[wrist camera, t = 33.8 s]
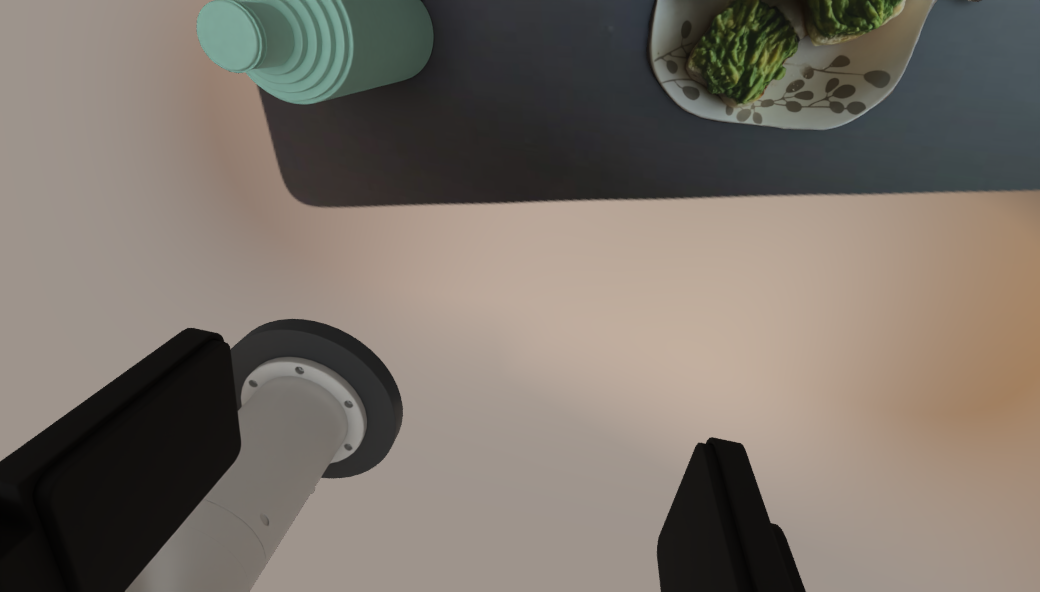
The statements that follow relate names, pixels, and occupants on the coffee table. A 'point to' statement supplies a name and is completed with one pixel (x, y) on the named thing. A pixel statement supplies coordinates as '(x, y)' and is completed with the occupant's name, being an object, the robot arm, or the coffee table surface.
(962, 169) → the coffee table surface
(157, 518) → the robot arm
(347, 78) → the bottle
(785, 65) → the salad plate
